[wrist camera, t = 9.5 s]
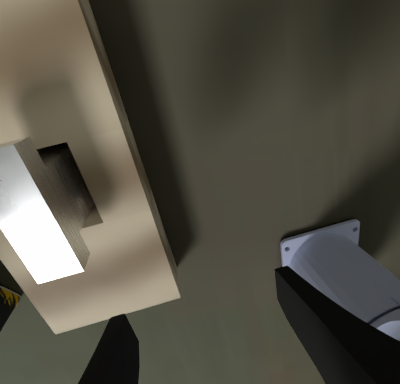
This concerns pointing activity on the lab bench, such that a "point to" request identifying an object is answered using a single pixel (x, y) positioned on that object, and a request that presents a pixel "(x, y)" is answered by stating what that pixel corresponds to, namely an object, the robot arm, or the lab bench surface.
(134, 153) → the beige slab
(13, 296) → the medicine bottle
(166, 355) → the lab bench surface
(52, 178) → the grey rectangular prism
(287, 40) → the lab bench surface
